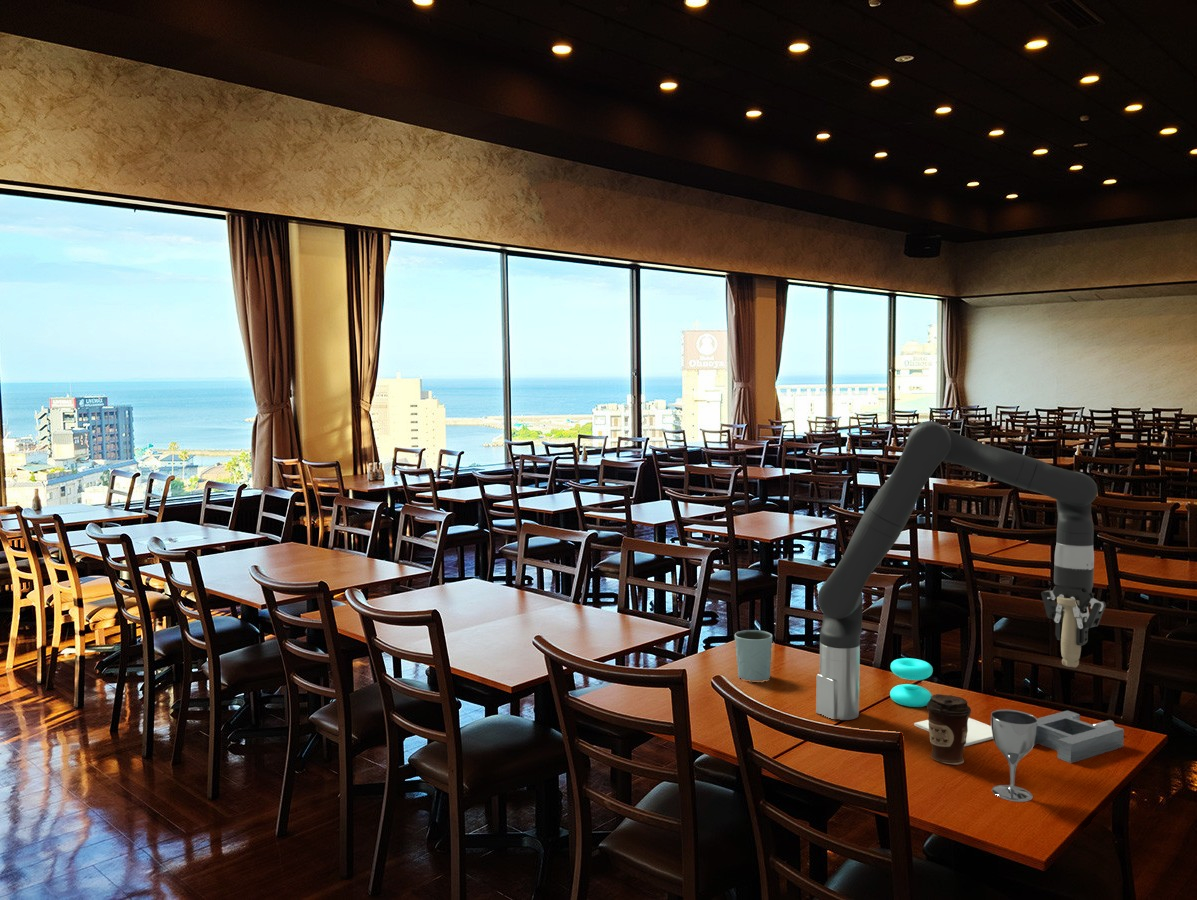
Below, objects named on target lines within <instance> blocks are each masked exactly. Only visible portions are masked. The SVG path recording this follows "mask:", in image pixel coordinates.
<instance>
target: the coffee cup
mask: <svg viewBox="0 0 1197 900" xmlns="http://www.w3.org/2000/svg"><path fill="white" fill-rule="evenodd" d="M926 708H927V711H928V719H927V720H928V721H929V731H928V732H929V735H928V736H929V742H930V745H931V746H932V751H931V752H930V756H931V758H932V759H933V760H935V761H937V762H939V763H942V764H948V765H953V766H955V765H956V766H957V765H961V764H963V763H964V762H965V761H964V757H963V754H964V749H965V746H964V745H965V744H966V737H967V732H968V726H967V722H968V718H970V716H971V713H972V709H971V707H970V706H969V705H968V701H967V699H966V698H963V697H960V696H955V695H953V694H950V695H948V694H938V693H937V694H933V695H932V696H931V699H930V701H929V702H928V703H927V706H926Z"/></svg>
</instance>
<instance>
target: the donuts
mask: <svg viewBox="0 0 1197 900" xmlns="http://www.w3.org/2000/svg"><path fill="white" fill-rule="evenodd" d="M933 669H934V668H933V666H932V665H931V664H930V663H929V662H927V661H925V660H922V659H917V658H911V657H910V658H909V657H907V658H906V657H905V658H904V657H903V658H897V659H894V660H893V661H891V663H890V670H891V671H890V672H892V673H893V675H895V676H897V677H899V678H900V679H904V680H909V681H924V680H926V679H929V677H931V676H932V675H933V671H934V670H933ZM889 696H890V699H891V700H892V701H893V702H895V703H896V704H898V705H901V706H905V707H912V708H922V707H925V706H926V707H927V703H928V702H929V701H930V699H931V696H933V695H932V692H931V691H929V690H928V689H927V688H925V687H924V686H920V685H917V684H909V683H906V684H905V683H904V684H897V685H895V686H894V687H892V688H891V690H890V692H889Z"/></svg>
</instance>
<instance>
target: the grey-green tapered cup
mask: <svg viewBox="0 0 1197 900" xmlns="http://www.w3.org/2000/svg"><path fill="white" fill-rule="evenodd" d="M734 642H735V643H734V645H735V655H736V664H737V665H736V666H737V676H738V677H737V678H738V679H739V678H741V679H745V680H750V681H763V680H768V679H769V678H770V679H771V666H772V648H773V634H772V633H770V632H768V631H765V630H756V629H747V630H746V629H745V630H741V631H739V630H738V631H737V632H735V633H734ZM770 679H769V680H770ZM769 680H768V681H769Z"/></svg>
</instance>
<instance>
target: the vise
mask: <svg viewBox="0 0 1197 900" xmlns="http://www.w3.org/2000/svg"><path fill="white" fill-rule="evenodd" d="M1080 718H1081V714H1079V713H1077V712H1074V711H1070V710H1064V711H1060V712H1056V713H1053V714H1049V715H1045V716H1041V717H1039V718H1037V717H1036V719H1037V733H1036V738H1035V742H1034V746H1035V745H1037V744H1038V745H1041V746H1044V747H1046V748H1048V749H1051V750H1054V751H1056V752H1057V755H1056V756H1057V759H1059V760H1062V761H1064V762H1066V763H1069V764H1073V763H1075V762H1076V763H1077V762H1080V761H1083V760H1086V759H1088V758H1089V759H1090V758H1094V757H1095V756H1096V757H1097V756H1098V755H1102V754H1105V752H1106V753H1108V752H1112V751H1115V750H1117V749H1118V748H1119V749H1122V748H1124V739H1125V738H1124V735H1125V734H1124V733H1125V732H1124V731H1125V729H1124V728H1122V727H1118V726H1116V725H1115V722H1114V721H1113V720H1111V719H1108V720H1105V721H1100V722H1098V723H1093V724H1091V723H1090V722H1089V723H1088V722H1086V721H1082V720H1081V719H1080ZM1121 747H1122V748H1121ZM1119 749H1118V750H1119Z"/></svg>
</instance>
